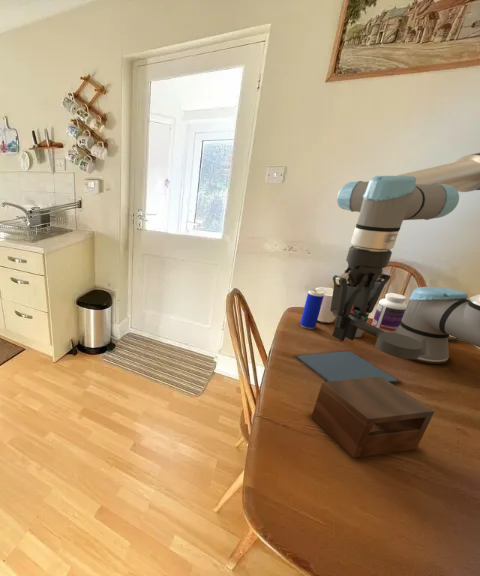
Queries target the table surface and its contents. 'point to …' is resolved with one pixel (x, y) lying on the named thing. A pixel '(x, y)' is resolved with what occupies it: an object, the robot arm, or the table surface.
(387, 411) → the wooden box
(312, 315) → the beverage can
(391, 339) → the small frying pan
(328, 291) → the cup
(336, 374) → the mat
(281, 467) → the table surface
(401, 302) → the pill bottle
